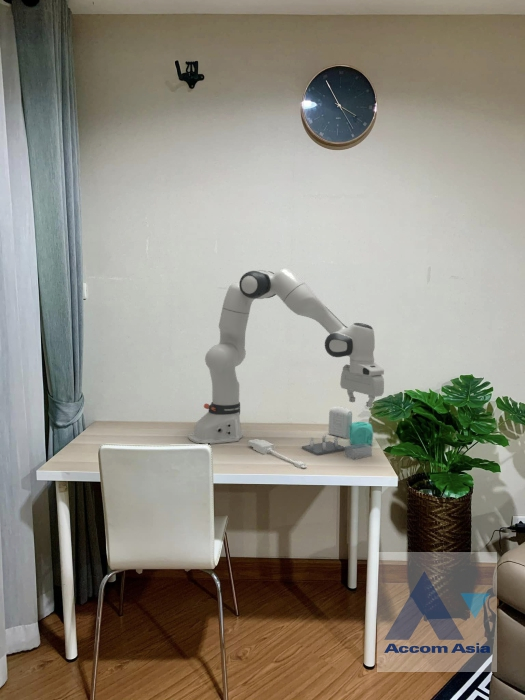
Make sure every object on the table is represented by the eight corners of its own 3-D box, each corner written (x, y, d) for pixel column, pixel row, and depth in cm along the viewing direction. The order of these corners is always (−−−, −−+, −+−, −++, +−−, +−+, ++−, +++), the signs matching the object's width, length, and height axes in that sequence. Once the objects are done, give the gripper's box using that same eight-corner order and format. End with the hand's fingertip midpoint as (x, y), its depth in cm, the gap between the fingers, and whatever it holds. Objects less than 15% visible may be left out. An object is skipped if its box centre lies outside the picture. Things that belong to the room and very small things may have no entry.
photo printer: (352, 437, 253) (354, 408, 252) (346, 439, 250) (347, 409, 248) (332, 432, 260) (333, 404, 259) (326, 434, 257) (327, 405, 255)
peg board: (317, 455, 228) (317, 445, 227) (301, 448, 236) (301, 438, 235) (346, 450, 235) (346, 439, 234) (329, 443, 243) (330, 433, 243)
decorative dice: (352, 446, 240) (353, 426, 239) (349, 440, 248) (349, 421, 247) (372, 446, 240) (373, 426, 239) (368, 440, 248) (369, 421, 247)
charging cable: (299, 473, 211) (299, 464, 210) (247, 446, 237) (247, 438, 236) (310, 470, 214) (311, 461, 213) (257, 444, 240) (257, 436, 239)
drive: (353, 460, 223) (353, 449, 223) (344, 456, 228) (344, 445, 227) (371, 456, 228) (371, 445, 228) (362, 453, 232) (362, 442, 232)
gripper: (336, 364, 231) (336, 400, 233) (374, 372, 214) (373, 410, 216) (349, 363, 234) (348, 398, 236) (387, 370, 217) (386, 408, 219)
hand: (360, 404), depth 226 cm, fingers open, 8 cm apart
